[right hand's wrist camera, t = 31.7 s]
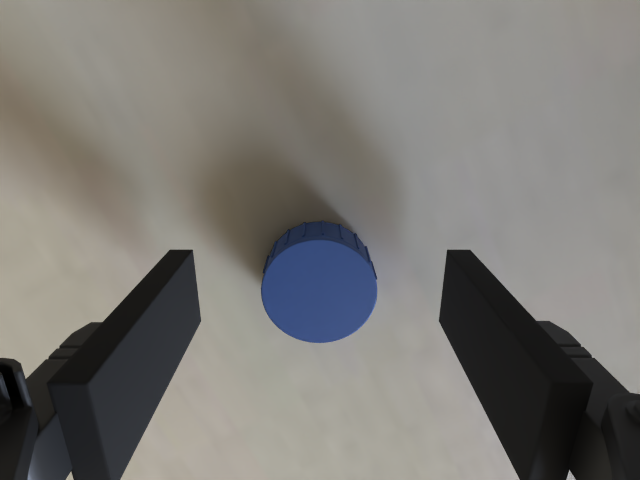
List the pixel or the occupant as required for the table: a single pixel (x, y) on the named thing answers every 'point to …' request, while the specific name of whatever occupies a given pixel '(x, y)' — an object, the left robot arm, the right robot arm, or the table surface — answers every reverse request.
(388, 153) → the table surface
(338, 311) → the cap
